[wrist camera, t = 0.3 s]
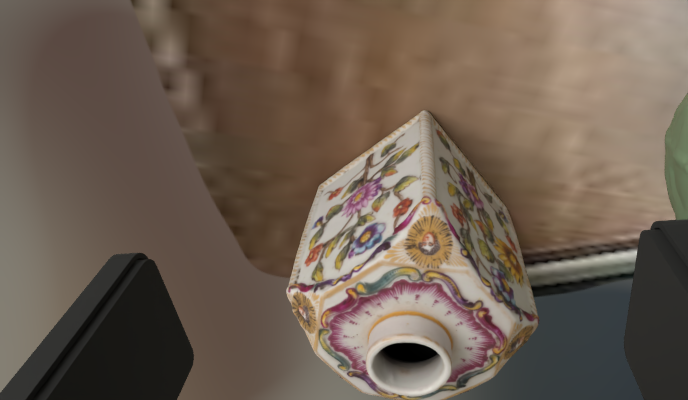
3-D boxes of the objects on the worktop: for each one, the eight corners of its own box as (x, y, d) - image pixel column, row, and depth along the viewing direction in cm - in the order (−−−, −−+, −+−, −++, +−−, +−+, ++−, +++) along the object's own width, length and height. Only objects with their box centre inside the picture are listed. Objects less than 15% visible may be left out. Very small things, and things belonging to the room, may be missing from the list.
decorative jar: (399, 274, 48) (390, 458, 33) (313, 186, 44) (258, 348, 29) (514, 208, 43) (568, 390, 28) (429, 102, 39) (436, 245, 24)
